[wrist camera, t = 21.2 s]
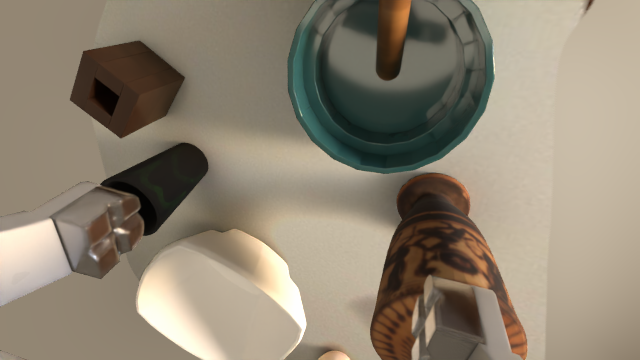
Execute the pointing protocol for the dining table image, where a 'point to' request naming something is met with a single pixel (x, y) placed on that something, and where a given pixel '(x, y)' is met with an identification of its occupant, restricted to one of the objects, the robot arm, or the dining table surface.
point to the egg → (334, 356)
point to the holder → (125, 86)
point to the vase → (434, 263)
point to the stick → (391, 37)
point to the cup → (162, 182)
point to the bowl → (223, 298)
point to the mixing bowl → (390, 82)
